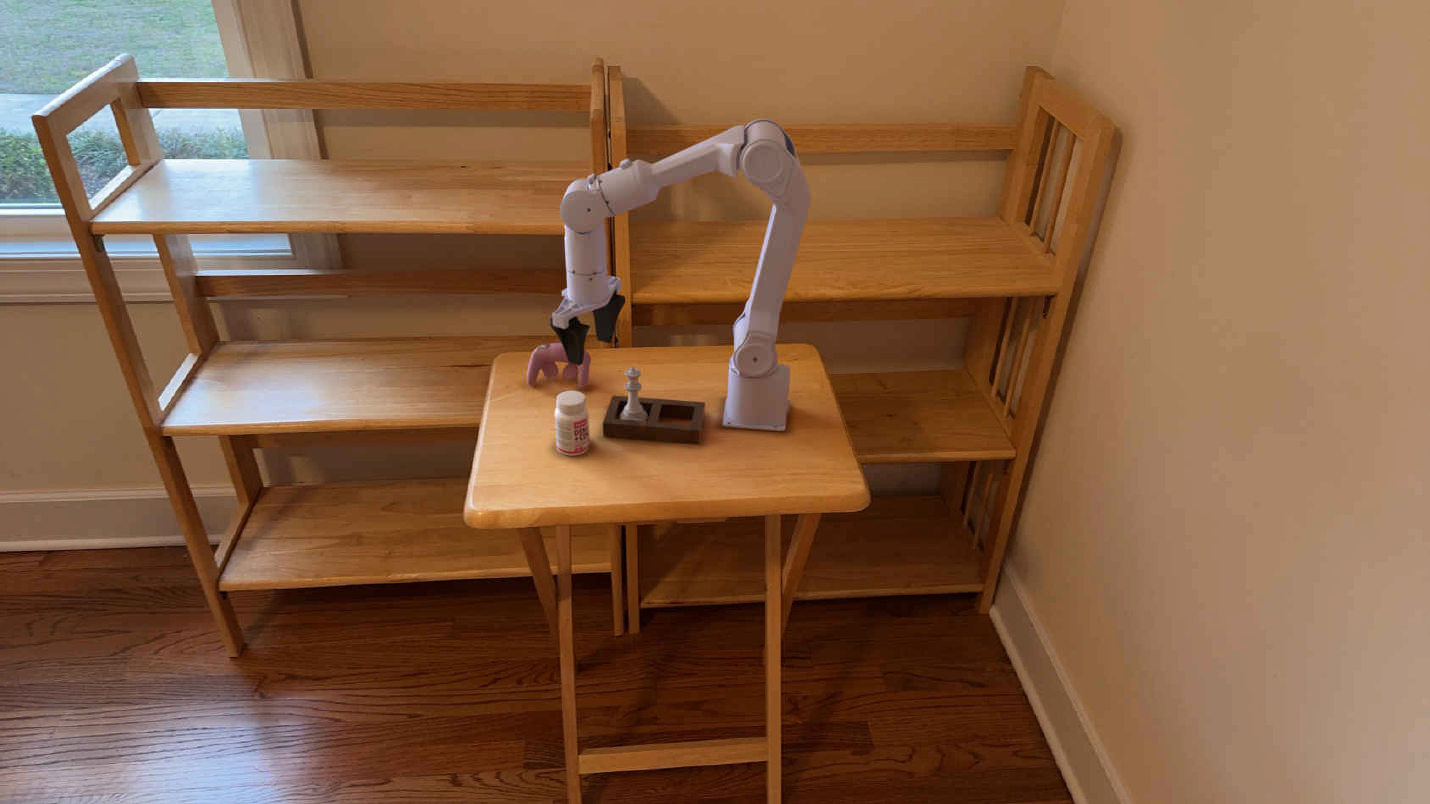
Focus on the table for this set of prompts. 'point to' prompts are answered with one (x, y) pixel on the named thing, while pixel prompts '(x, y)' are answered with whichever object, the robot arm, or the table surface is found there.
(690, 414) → the stand
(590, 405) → the table surface
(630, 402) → the chess piece
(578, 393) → the pill bottle
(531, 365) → the video game controller
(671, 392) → the table surface
